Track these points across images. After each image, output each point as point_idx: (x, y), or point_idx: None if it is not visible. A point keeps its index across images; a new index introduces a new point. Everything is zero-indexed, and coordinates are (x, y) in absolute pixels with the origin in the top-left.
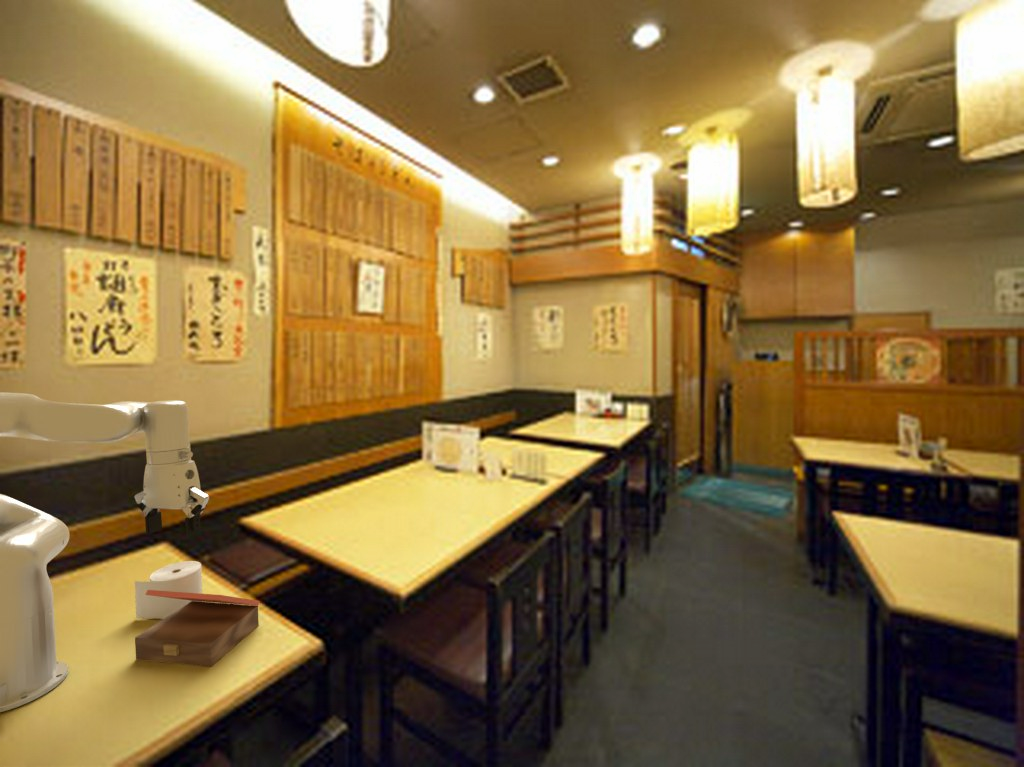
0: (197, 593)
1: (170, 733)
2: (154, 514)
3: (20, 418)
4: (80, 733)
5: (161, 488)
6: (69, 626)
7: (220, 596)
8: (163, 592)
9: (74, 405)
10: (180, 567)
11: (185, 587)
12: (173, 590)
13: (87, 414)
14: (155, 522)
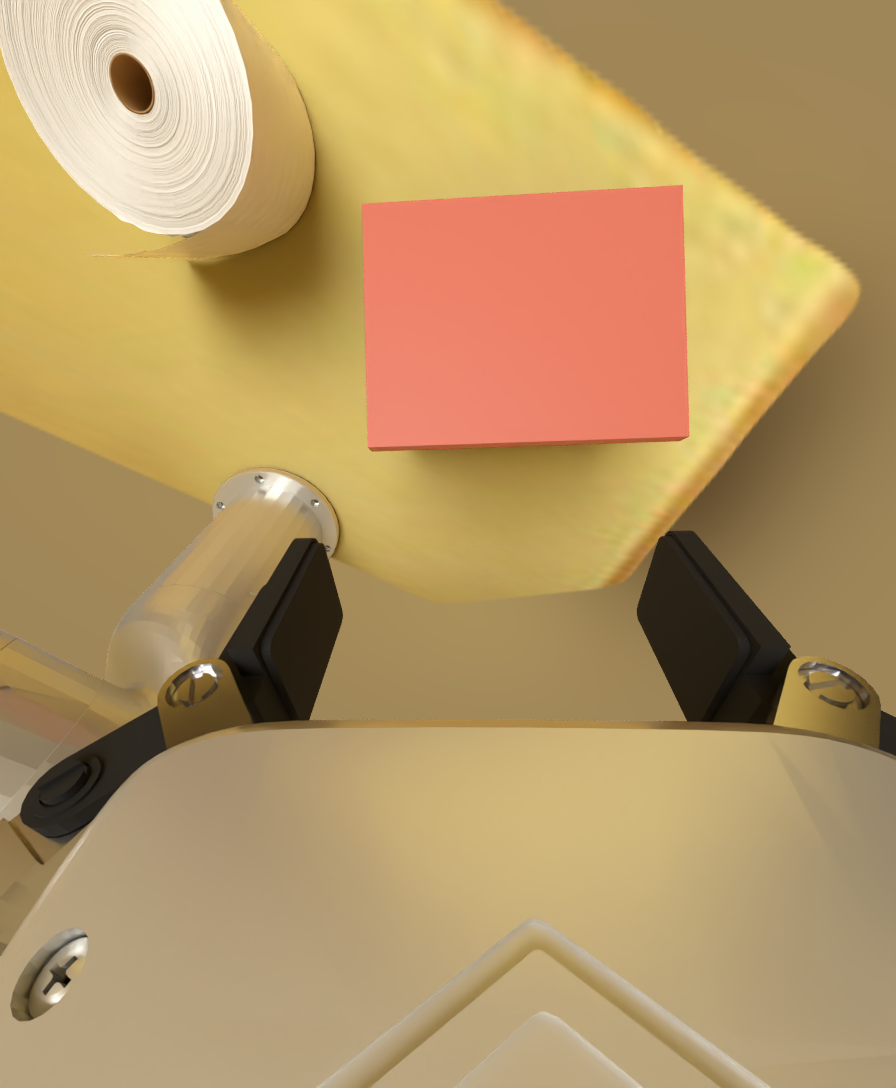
0: (585, 439)
1: (636, 553)
2: (277, 693)
3: None
4: (493, 569)
5: None
6: (48, 333)
7: (686, 437)
8: (439, 445)
9: None
10: (97, 22)
11: (276, 161)
12: (258, 208)
13: None
14: (313, 632)
